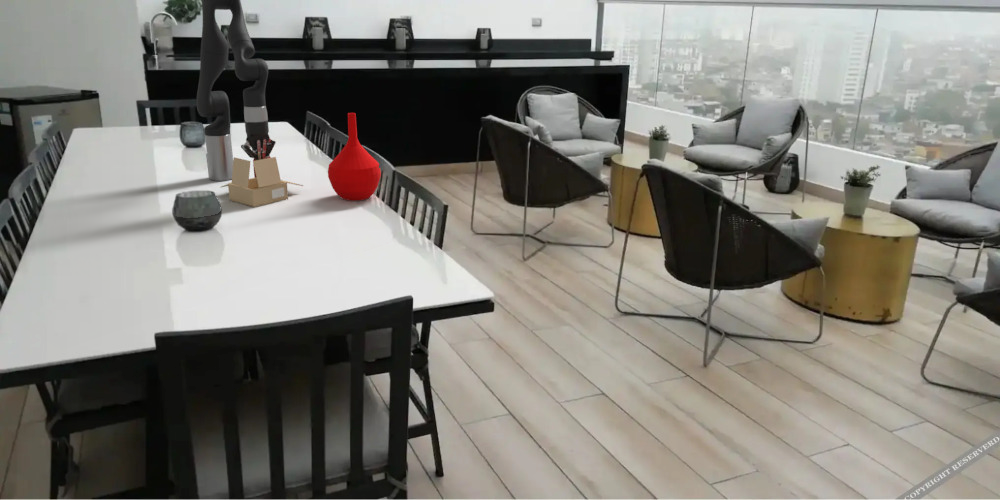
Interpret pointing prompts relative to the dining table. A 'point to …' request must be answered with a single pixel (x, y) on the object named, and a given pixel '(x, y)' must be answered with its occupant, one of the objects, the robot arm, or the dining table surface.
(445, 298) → the dining table surface
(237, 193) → the carton
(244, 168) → the right flap
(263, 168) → the front flap
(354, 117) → the vase
